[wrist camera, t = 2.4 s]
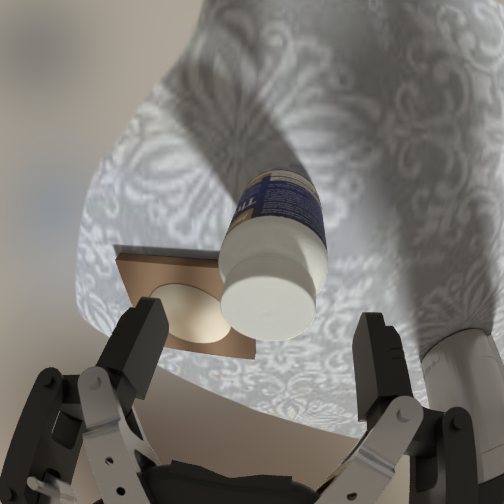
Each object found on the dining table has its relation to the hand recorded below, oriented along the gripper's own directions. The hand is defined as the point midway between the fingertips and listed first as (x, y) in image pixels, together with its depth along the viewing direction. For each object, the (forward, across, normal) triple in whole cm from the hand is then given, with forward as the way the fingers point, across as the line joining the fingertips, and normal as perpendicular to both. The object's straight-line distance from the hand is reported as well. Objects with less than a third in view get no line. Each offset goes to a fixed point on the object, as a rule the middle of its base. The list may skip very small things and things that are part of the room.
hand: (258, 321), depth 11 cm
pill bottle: (+10, 0, 0) cm, 11 cm away
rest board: (+10, +8, +11) cm, 17 cm away
